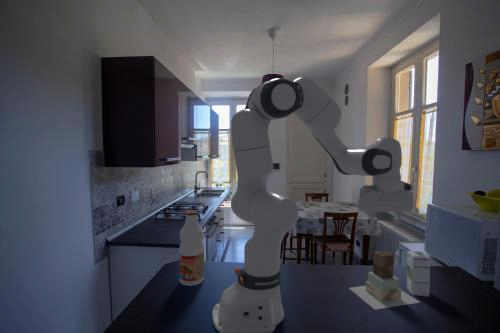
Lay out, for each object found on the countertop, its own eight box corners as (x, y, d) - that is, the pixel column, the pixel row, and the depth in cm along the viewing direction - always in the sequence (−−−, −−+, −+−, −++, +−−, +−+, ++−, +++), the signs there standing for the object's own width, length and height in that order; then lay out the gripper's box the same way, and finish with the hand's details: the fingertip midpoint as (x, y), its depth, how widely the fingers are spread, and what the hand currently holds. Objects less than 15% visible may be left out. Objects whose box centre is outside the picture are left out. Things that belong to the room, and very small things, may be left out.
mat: (374, 310, 84) (374, 309, 84) (348, 288, 98) (348, 287, 98) (420, 303, 89) (420, 302, 89) (389, 283, 102) (389, 282, 102)
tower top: (381, 291, 89) (382, 281, 89) (367, 281, 96) (368, 272, 96) (398, 288, 91) (399, 279, 90) (384, 279, 97) (384, 270, 97)
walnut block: (382, 279, 90) (382, 256, 90) (373, 273, 95) (373, 251, 94) (393, 277, 91) (393, 255, 91) (383, 272, 96) (384, 250, 95)
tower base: (381, 302, 89) (381, 292, 88) (365, 290, 96) (365, 281, 96) (401, 299, 90) (401, 289, 90) (384, 287, 98) (384, 278, 98)
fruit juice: (207, 283, 101) (207, 212, 100) (183, 290, 97) (182, 215, 95) (199, 274, 110) (199, 207, 108) (176, 279, 105) (176, 210, 104)
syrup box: (430, 297, 92) (431, 257, 92) (411, 295, 94) (412, 255, 93) (422, 289, 98) (424, 251, 97) (405, 287, 99) (406, 250, 98)
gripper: (366, 186, 86) (364, 227, 87) (417, 185, 91) (415, 225, 91) (354, 184, 92) (353, 223, 93) (402, 183, 97) (401, 220, 98)
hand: (384, 224), depth 92 cm, fingers open, 8 cm apart
